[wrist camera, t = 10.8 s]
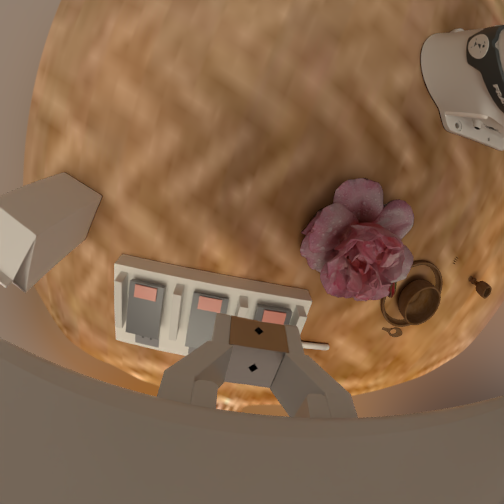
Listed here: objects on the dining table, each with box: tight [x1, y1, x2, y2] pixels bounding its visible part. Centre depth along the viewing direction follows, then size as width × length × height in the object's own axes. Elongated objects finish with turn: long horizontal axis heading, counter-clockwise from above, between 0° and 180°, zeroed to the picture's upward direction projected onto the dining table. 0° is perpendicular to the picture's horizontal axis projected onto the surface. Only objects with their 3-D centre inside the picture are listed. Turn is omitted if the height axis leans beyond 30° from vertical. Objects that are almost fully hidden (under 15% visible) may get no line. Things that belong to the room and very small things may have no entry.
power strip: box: [114, 254, 329, 356], centre depth 39 cm, size 33×13×6 cm, turn 77°
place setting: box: [381, 257, 492, 337], centre depth 40 cm, size 18×20×6 cm
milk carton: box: [0, 172, 102, 292], centre depth 25 cm, size 7×7×19 cm
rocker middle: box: [185, 291, 229, 348], centre depth 35 cm, size 4×7×2 cm, turn 167°
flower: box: [300, 178, 414, 301], centre depth 33 cm, size 15×15×10 cm
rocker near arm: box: [253, 303, 292, 325], centre depth 37 cm, size 4×7×2 cm, turn 167°
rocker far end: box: [126, 279, 166, 340], centre depth 34 cm, size 4×7×2 cm, turn 167°
